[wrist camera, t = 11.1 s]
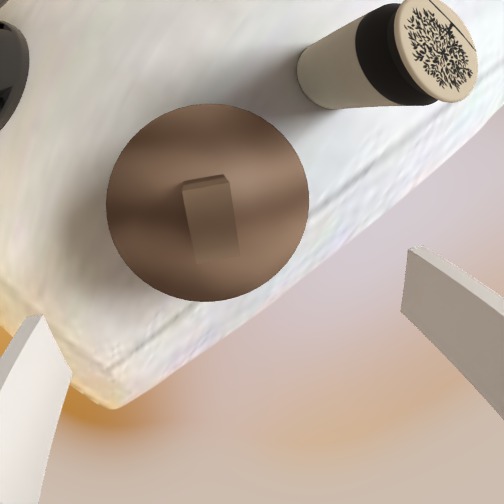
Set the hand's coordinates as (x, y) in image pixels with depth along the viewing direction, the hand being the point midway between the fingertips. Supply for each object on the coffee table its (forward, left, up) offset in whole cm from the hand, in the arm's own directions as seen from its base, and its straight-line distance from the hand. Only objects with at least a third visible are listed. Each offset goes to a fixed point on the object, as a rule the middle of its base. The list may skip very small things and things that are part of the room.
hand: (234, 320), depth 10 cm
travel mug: (-11, +15, -25) cm, 31 cm away
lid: (0, 0, -16) cm, 16 cm away
